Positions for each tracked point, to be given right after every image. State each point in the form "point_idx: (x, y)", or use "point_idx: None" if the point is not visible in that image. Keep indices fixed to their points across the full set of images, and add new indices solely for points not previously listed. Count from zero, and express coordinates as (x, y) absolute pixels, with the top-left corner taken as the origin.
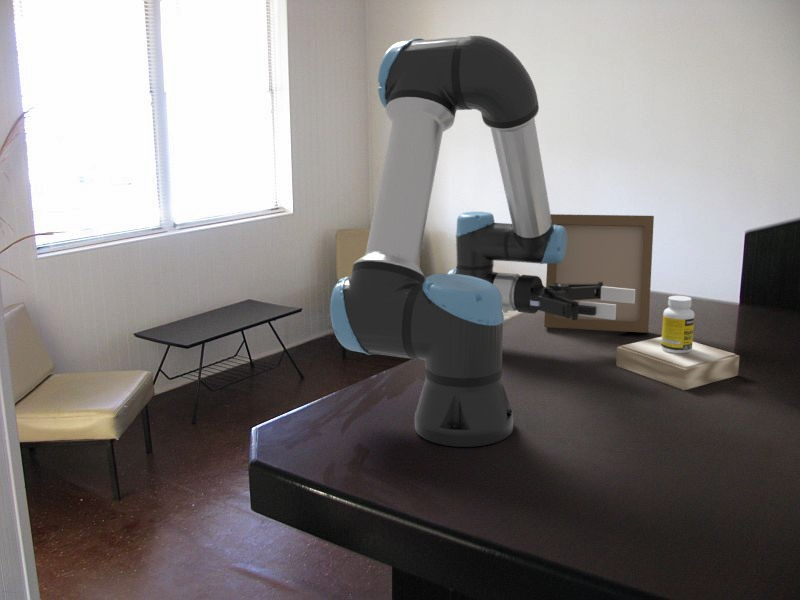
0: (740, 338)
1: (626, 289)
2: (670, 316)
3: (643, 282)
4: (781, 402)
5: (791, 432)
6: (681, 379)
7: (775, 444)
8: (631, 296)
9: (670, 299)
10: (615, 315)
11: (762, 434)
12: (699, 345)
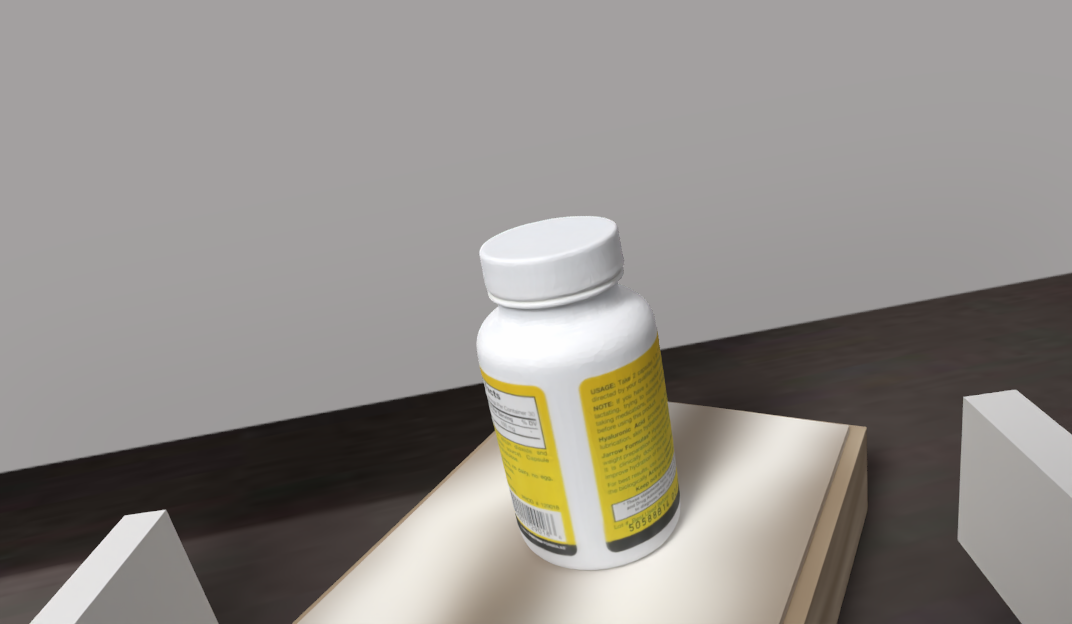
0: (49, 556)
1: (111, 577)
2: (651, 332)
3: None
4: (741, 348)
5: (946, 298)
6: (864, 482)
7: (1064, 292)
8: (177, 593)
9: (599, 245)
10: (966, 506)
11: (1031, 314)
12: (473, 479)
